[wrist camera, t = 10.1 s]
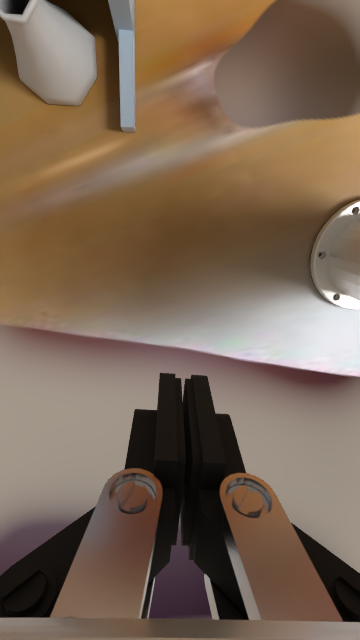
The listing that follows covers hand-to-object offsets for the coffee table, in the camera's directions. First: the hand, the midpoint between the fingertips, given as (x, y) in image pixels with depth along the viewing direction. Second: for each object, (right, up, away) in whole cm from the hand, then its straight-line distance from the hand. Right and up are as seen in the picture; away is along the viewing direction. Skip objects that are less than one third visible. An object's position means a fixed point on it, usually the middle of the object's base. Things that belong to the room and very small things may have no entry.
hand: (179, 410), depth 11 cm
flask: (-11, +26, +17) cm, 33 cm away
